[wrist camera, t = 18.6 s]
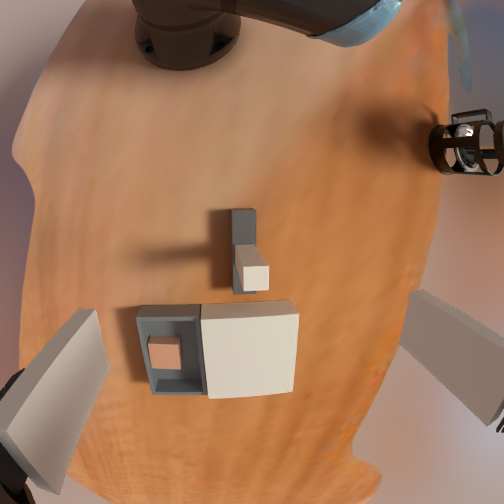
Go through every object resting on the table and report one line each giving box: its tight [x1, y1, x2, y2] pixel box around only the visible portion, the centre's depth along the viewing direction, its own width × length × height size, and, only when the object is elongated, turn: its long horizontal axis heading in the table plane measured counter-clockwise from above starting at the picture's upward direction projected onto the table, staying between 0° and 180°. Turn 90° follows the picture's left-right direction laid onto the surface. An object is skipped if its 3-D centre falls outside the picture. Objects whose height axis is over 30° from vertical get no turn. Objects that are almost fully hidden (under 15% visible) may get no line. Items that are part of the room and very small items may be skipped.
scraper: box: [231, 208, 269, 294], centre depth 33 cm, size 11×3×13 cm, turn 1°
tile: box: [148, 335, 182, 369], centre depth 39 cm, size 4×4×2 cm
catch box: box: [136, 304, 207, 395], centre depth 39 cm, size 14×9×4 cm, turn 1°
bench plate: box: [201, 300, 299, 399], centre depth 40 cm, size 14×13×5 cm
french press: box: [429, 109, 504, 176], centre depth 29 cm, size 12×9×23 cm
